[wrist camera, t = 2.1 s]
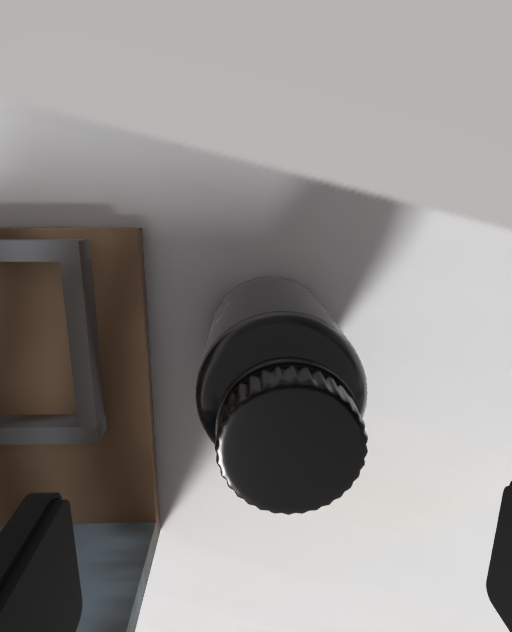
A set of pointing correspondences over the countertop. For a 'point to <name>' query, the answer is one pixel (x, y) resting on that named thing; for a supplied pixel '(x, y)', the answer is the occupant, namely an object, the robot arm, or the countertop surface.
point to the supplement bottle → (282, 398)
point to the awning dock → (82, 403)
